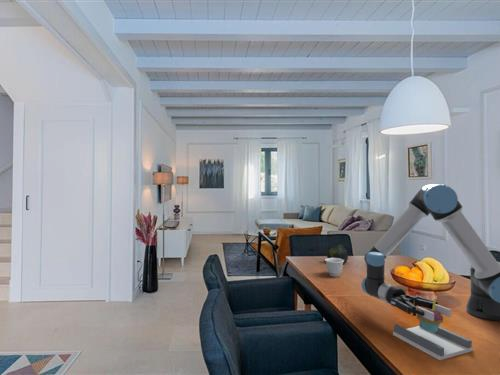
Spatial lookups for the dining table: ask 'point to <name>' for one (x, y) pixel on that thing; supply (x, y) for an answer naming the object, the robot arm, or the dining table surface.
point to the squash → (338, 253)
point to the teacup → (334, 266)
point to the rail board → (434, 341)
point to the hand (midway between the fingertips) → (441, 315)
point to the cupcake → (428, 324)
